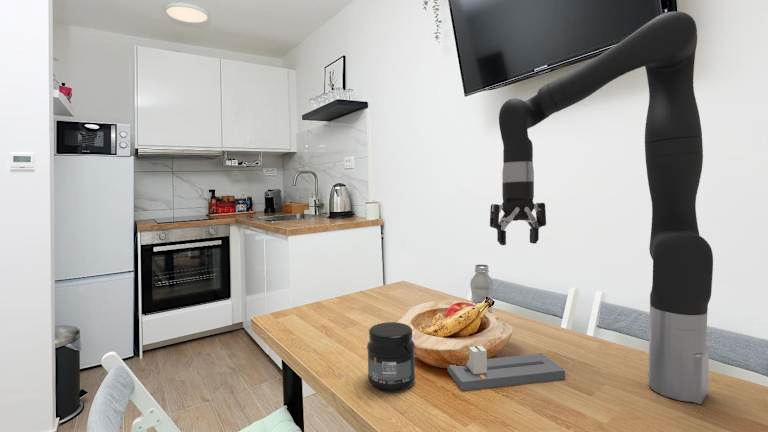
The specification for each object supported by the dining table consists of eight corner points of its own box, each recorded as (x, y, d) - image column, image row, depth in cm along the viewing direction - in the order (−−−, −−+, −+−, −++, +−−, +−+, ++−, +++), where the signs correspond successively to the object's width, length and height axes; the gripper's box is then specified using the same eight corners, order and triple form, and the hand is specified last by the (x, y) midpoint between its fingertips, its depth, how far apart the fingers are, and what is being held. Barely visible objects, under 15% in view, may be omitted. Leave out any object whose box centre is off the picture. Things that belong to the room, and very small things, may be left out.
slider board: (541, 361, 92) (541, 352, 92) (565, 379, 83) (565, 369, 83) (447, 371, 88) (447, 362, 88) (461, 391, 79) (461, 381, 79)
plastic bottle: (495, 337, 108) (494, 268, 107) (470, 335, 109) (470, 267, 108) (493, 329, 114) (492, 263, 113) (470, 328, 116) (469, 263, 114)
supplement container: (398, 366, 91) (397, 318, 90) (425, 385, 82) (424, 331, 81) (359, 378, 86) (358, 327, 85) (383, 400, 77) (382, 342, 76)
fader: (477, 362, 87) (477, 341, 87) (486, 372, 82) (486, 350, 82) (465, 364, 87) (464, 342, 86) (473, 374, 82) (473, 351, 81)
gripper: (535, 180, 101) (535, 241, 102) (485, 181, 98) (485, 243, 99) (552, 179, 93) (552, 244, 94) (498, 180, 91) (498, 247, 92)
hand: (517, 244), depth 97 cm, fingers open, 8 cm apart
